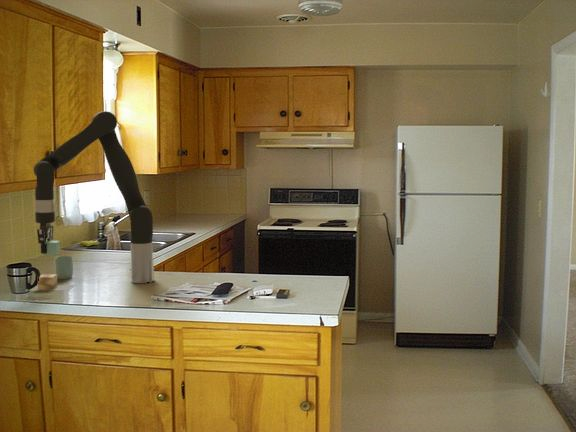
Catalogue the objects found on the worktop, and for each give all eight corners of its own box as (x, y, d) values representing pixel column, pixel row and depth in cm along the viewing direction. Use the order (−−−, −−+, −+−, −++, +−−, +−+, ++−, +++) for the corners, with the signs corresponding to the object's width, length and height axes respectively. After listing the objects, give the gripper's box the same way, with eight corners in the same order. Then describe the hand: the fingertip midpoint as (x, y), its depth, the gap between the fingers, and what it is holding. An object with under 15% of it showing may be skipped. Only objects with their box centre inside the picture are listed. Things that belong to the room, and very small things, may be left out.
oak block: (57, 286, 279) (57, 274, 279) (53, 289, 273) (52, 277, 273) (42, 286, 279) (42, 274, 278) (38, 289, 273) (37, 277, 273)
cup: (54, 282, 292) (53, 259, 291) (55, 278, 300) (54, 256, 299) (73, 281, 295) (72, 258, 293) (74, 277, 302) (73, 255, 301)
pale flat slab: (75, 287, 282) (75, 284, 282) (69, 292, 272) (69, 290, 272) (37, 287, 281) (36, 285, 281) (29, 293, 271) (29, 290, 271)
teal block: (60, 252, 277) (59, 240, 277) (56, 254, 272) (56, 242, 272) (47, 252, 277) (47, 240, 277) (44, 254, 272) (43, 242, 272)
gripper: (49, 212, 266) (50, 255, 268) (59, 209, 280) (60, 249, 282) (29, 212, 265) (31, 255, 267) (41, 209, 280) (42, 249, 282)
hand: (46, 252), depth 275 cm, fingers closed on teal block, 5 cm apart
